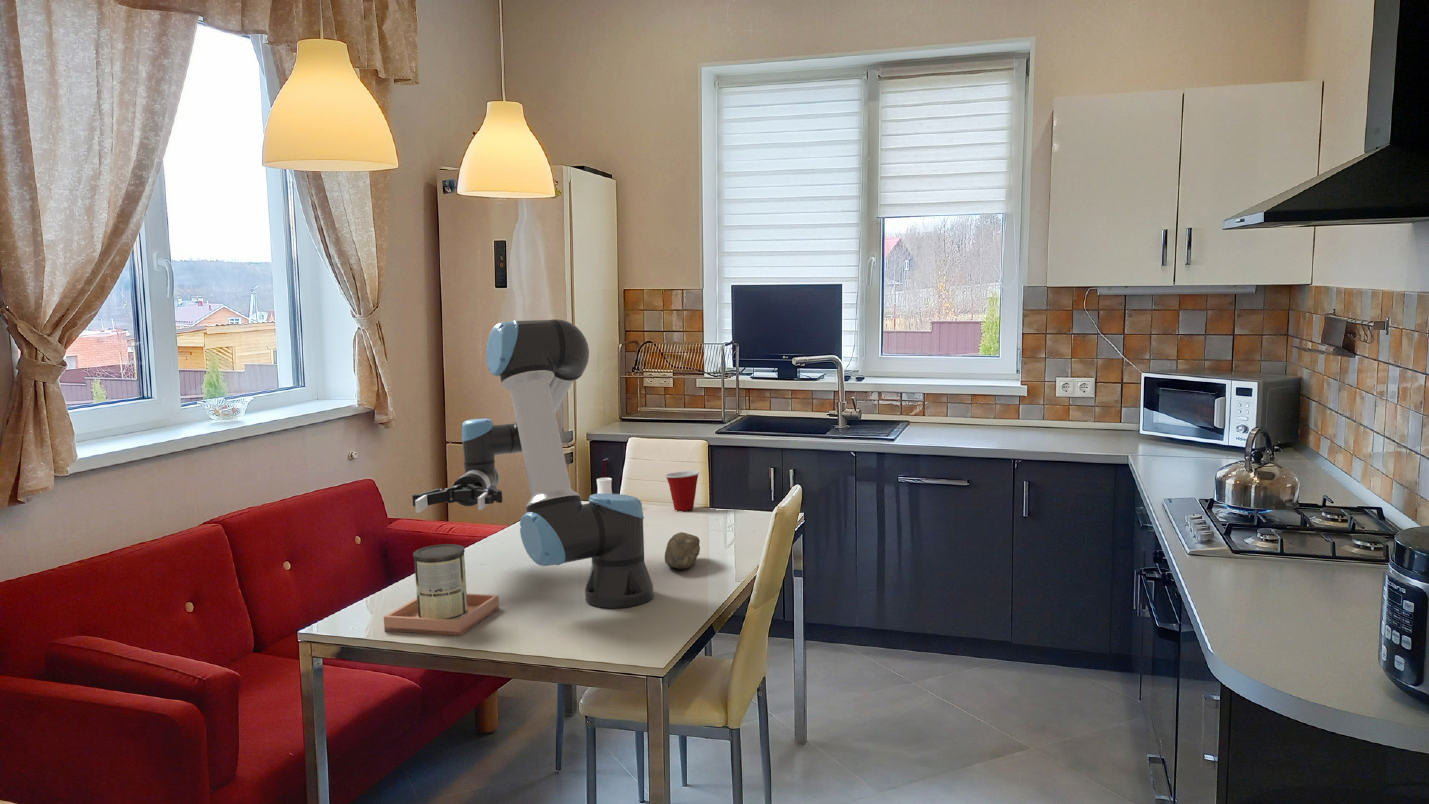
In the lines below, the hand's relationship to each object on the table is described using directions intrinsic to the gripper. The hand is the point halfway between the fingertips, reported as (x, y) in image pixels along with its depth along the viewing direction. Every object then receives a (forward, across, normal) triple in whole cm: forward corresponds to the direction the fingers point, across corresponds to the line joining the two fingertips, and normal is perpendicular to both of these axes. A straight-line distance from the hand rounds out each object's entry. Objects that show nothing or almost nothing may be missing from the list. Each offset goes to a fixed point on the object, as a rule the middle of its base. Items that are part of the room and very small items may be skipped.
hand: (448, 505), depth 207 cm
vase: (-92, -24, -21) cm, 98 cm away
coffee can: (+10, 0, -22) cm, 24 cm away
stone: (-25, -50, -23) cm, 60 cm away
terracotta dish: (+10, 0, -22) cm, 24 cm away
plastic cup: (-89, -49, -21) cm, 104 cm away
